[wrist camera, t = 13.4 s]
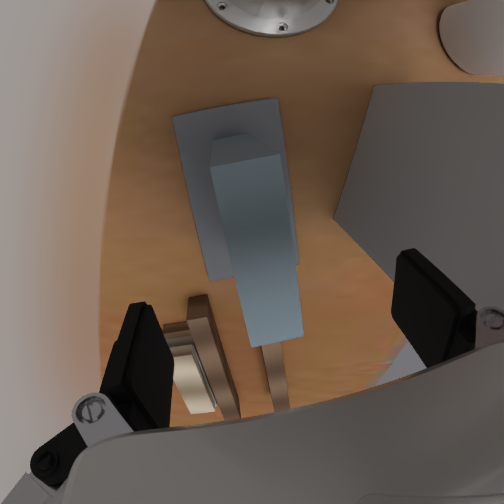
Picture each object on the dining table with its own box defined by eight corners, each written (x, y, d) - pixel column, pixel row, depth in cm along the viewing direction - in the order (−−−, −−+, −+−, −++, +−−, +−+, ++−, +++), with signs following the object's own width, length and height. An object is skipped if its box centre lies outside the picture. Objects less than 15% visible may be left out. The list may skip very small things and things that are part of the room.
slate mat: (173, 116, 25) (172, 116, 24) (275, 98, 25) (277, 97, 24) (209, 276, 32) (209, 281, 31) (296, 259, 32) (299, 264, 31)
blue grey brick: (212, 140, 25) (209, 167, 13) (247, 133, 26) (280, 154, 13) (234, 246, 30) (251, 347, 17) (266, 239, 30) (303, 336, 17)
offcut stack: (164, 325, 34) (158, 354, 30) (193, 320, 34) (192, 349, 30) (192, 392, 39) (192, 420, 35) (218, 388, 39) (219, 416, 35)
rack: (188, 297, 33) (186, 320, 29) (268, 282, 33) (275, 304, 29) (224, 401, 41) (226, 423, 37) (284, 390, 41) (290, 412, 37)
